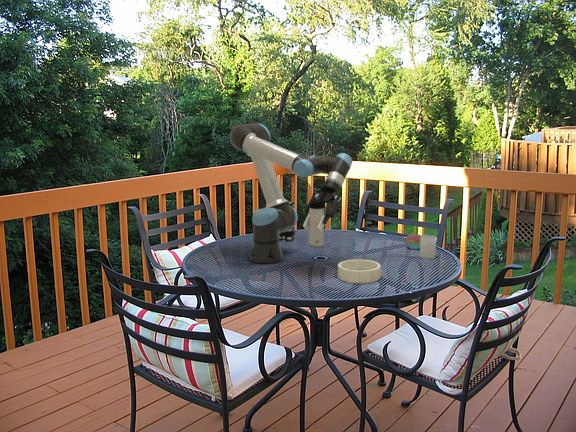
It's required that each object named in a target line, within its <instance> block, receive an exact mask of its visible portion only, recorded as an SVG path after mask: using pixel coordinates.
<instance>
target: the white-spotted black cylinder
mask: <svg viewBox="0 0 576 432" xmlns="http://www.w3.org/2000/svg"><path fill="white" fill-rule="evenodd" d="M288 202H289V205H290V206H291V207H293V208H294V209H295V202H294V201H288ZM295 226H296V225H295ZM295 226H294V227H293V228H292V229H290V230H289V231H286V232H282V233H280V234H278V240H279V241H280V242H294V241H295V240H296V235H295V234H296V232H295V231H296V230H295V229H296V227H295Z"/></svg>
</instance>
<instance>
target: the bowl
mask: <svg viewBox="0 0 576 432" xmlns="http://www.w3.org/2000/svg"><path fill="white" fill-rule="evenodd" d="M381 270H382V265H381V264H380V263H379V262H377V261H375V260H374V261H373V260H371V259H370V260H369V259H361V258H360V259H347V260H343V261H340V262H339V263H338V264H337V278H338V279H339V280H340V281H342V282H346V283H349V284H350V283H351V284H358V285H359V284H360V285H361V284H372V283H375V282H378V281H379V280H380V279H381V278H382V275H381V274H382V271H381Z"/></svg>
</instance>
